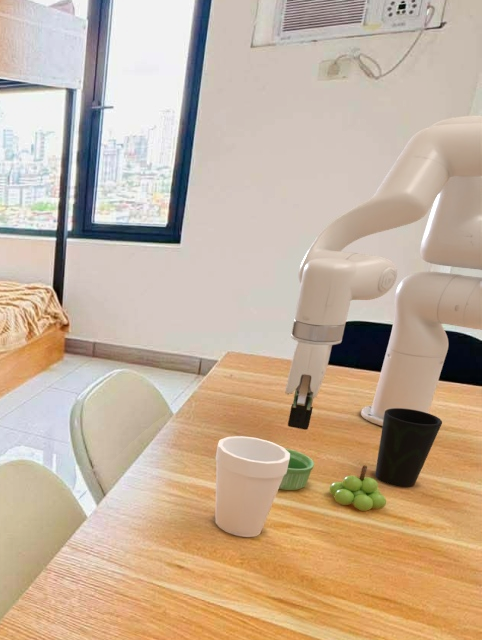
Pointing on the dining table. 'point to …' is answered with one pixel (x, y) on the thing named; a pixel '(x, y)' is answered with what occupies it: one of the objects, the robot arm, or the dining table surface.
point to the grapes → (358, 492)
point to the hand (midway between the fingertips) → (298, 426)
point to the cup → (405, 445)
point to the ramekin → (297, 471)
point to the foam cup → (247, 483)
